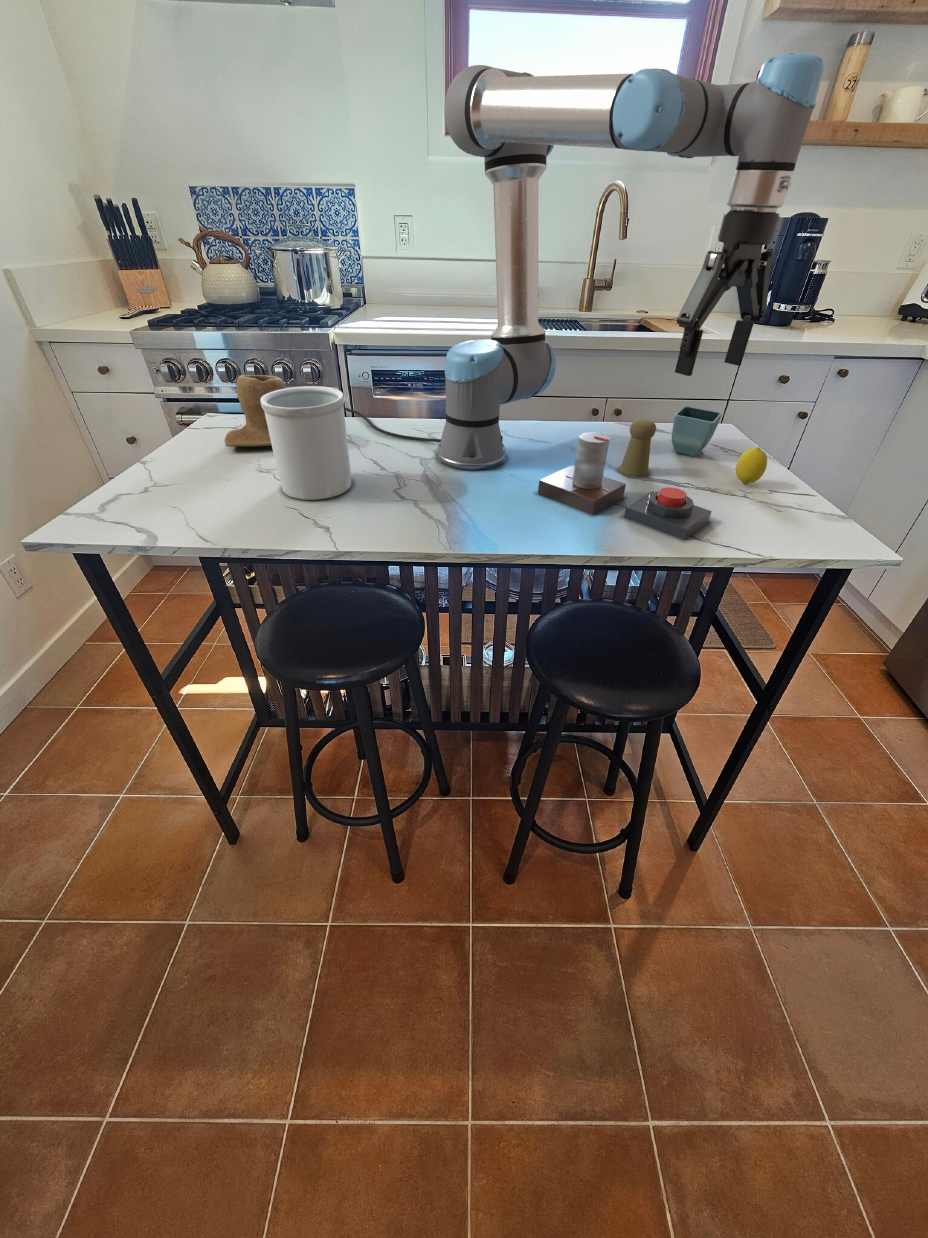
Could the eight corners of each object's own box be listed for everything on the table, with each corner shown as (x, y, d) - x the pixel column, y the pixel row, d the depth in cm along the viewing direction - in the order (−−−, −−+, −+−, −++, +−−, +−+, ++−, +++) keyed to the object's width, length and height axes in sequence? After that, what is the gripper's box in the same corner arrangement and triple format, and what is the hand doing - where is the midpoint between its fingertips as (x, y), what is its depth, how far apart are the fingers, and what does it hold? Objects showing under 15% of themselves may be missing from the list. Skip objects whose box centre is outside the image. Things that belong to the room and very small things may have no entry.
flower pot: (711, 450, 131) (723, 412, 125) (702, 462, 125) (714, 422, 119) (674, 442, 134) (684, 405, 129) (664, 453, 128) (674, 414, 123)
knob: (566, 482, 107) (573, 435, 101) (583, 474, 110) (590, 428, 104) (591, 491, 104) (599, 443, 98) (606, 483, 107) (615, 435, 101)
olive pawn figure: (648, 478, 117) (660, 426, 110) (619, 475, 118) (630, 423, 111) (646, 467, 122) (658, 417, 115) (619, 465, 122) (629, 414, 116)
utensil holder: (263, 485, 110) (244, 395, 100) (325, 465, 119) (313, 380, 108) (306, 509, 102) (289, 413, 92) (368, 485, 111) (360, 396, 100)
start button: (652, 501, 99) (654, 492, 98) (664, 493, 102) (667, 484, 101) (676, 510, 97) (679, 500, 96) (689, 501, 100) (691, 492, 99)
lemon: (759, 482, 116) (772, 445, 111) (758, 492, 112) (772, 454, 107) (731, 477, 118) (743, 440, 113) (729, 486, 114) (742, 449, 109)
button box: (623, 517, 102) (627, 497, 100) (650, 501, 108) (654, 482, 105) (683, 540, 96) (689, 519, 93) (708, 521, 101) (714, 501, 99)
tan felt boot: (298, 433, 135) (287, 367, 126) (295, 450, 126) (283, 381, 117) (234, 435, 133) (218, 369, 124) (226, 453, 123) (208, 383, 114)
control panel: (537, 494, 110) (539, 479, 108) (569, 478, 116) (571, 464, 114) (592, 515, 103) (595, 499, 101) (623, 497, 109) (626, 482, 107)
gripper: (724, 209, 70) (680, 384, 83) (823, 211, 82) (770, 364, 95) (676, 207, 75) (641, 372, 88) (776, 209, 86) (732, 355, 100)
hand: (708, 368), depth 91 cm, fingers open, 13 cm apart
